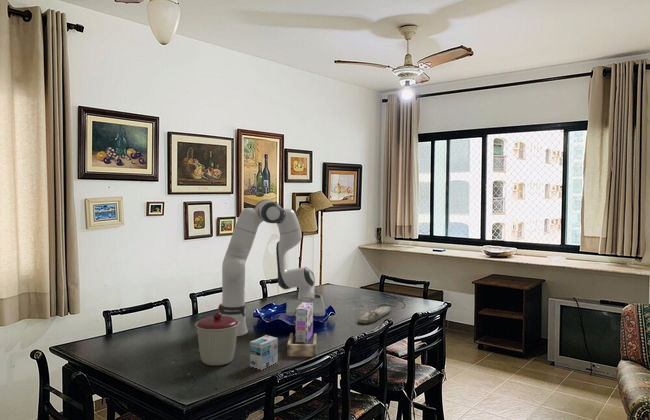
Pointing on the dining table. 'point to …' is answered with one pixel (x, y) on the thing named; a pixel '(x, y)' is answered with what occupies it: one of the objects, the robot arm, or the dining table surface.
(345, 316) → the dining table surface
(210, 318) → the canister
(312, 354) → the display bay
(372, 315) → the elongated rock
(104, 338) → the dining table surface
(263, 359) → the light bulb box
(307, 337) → the candy box
